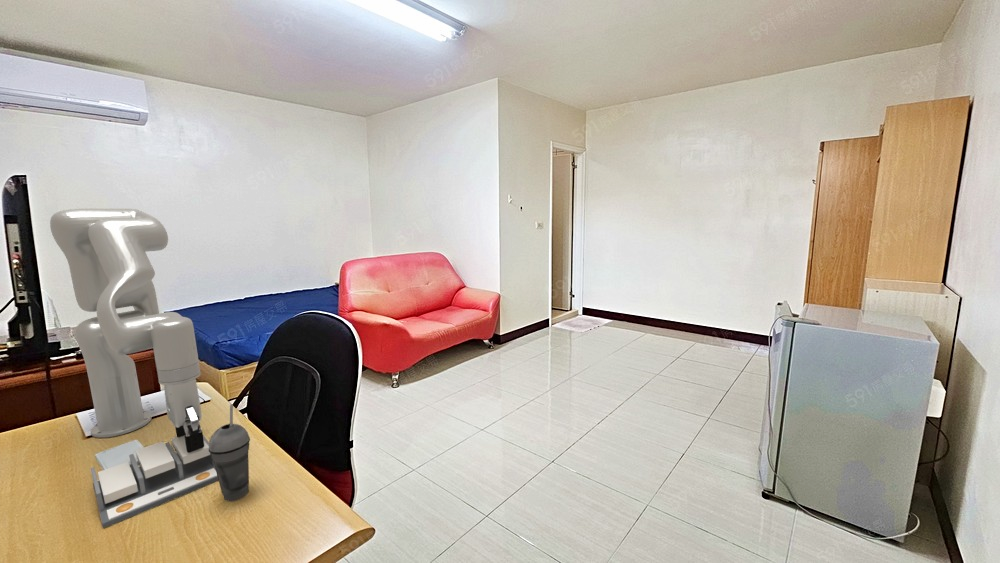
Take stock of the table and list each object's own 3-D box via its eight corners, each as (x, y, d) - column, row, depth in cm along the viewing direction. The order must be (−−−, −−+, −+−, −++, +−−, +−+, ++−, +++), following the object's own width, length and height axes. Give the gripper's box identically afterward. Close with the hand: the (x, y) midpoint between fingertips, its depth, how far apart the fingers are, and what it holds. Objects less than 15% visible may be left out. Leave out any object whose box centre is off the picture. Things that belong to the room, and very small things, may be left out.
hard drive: (94, 453, 102) (106, 472, 94) (137, 438, 108) (152, 454, 101) (95, 460, 102) (108, 478, 94) (138, 444, 108) (153, 461, 101)
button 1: (99, 483, 90) (97, 472, 90) (130, 472, 94) (128, 461, 94) (105, 507, 83) (103, 495, 82) (138, 494, 87) (136, 483, 86)
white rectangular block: (137, 460, 95) (135, 450, 94) (164, 451, 98) (163, 441, 98) (146, 482, 87) (144, 470, 87) (175, 471, 91) (174, 460, 90)
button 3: (172, 448, 100) (171, 438, 99) (197, 439, 103) (196, 430, 103) (184, 467, 92) (182, 457, 92) (210, 457, 96) (209, 447, 95)
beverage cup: (219, 488, 90) (207, 401, 87) (258, 479, 93) (248, 395, 89) (212, 510, 83) (198, 417, 80) (253, 499, 86) (242, 409, 83)
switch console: (93, 487, 91) (89, 467, 90) (202, 448, 105) (200, 430, 105) (103, 528, 79) (98, 506, 78) (224, 477, 93) (222, 458, 93)
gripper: (150, 368, 97) (162, 436, 100) (166, 387, 86) (179, 463, 89) (189, 359, 103) (199, 423, 105) (209, 376, 91) (220, 448, 94)
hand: (190, 442), depth 97 cm, fingers open, 9 cm apart
